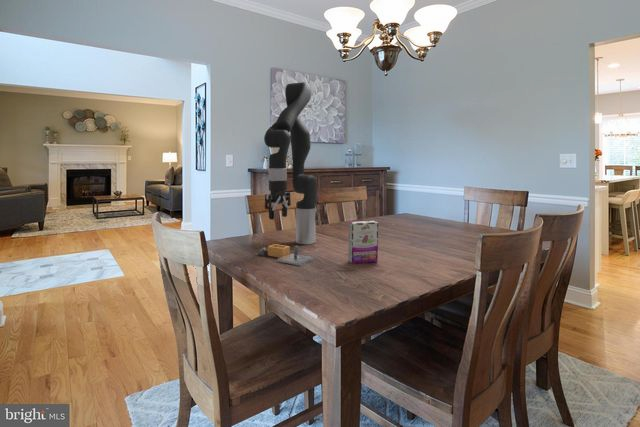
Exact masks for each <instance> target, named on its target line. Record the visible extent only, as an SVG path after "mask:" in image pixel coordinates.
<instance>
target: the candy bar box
mask: <svg viewBox="0 0 640 427" xmlns="http://www.w3.org/2000/svg"><path fill="white" fill-rule="evenodd" d="M378 250H379V222H378V221H375V220H362V221H360V220H359V221H348V256H347V257H348V262H349V263H351V264H352V265H353V264H355V265H356V264H367V263H369V262H370V263H377V262H378V259H379V258H378V257H379V256H378V255H379V254H378Z"/></svg>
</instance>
